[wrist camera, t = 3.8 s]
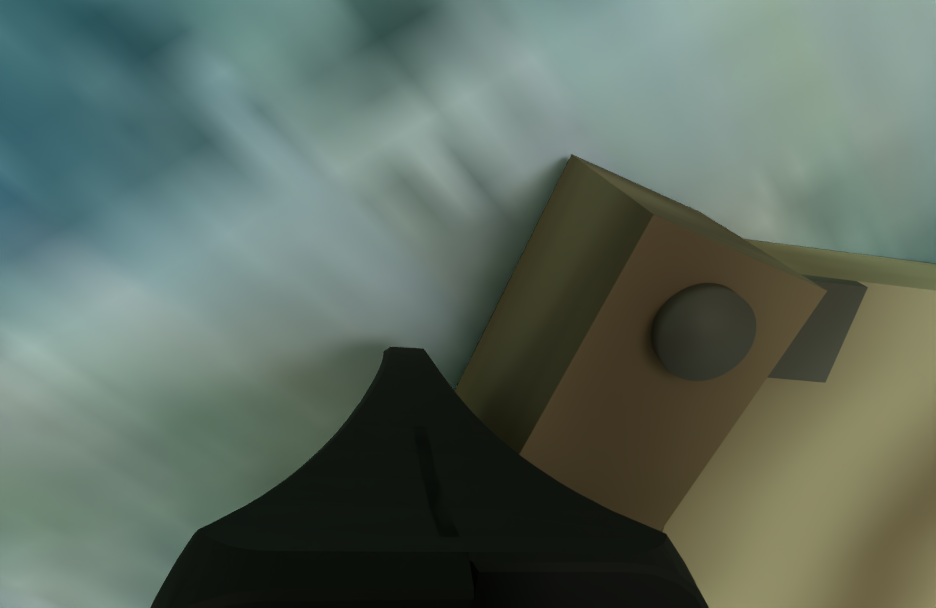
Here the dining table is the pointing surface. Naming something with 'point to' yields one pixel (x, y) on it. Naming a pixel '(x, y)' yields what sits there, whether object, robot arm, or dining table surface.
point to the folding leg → (630, 342)
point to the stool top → (829, 454)
